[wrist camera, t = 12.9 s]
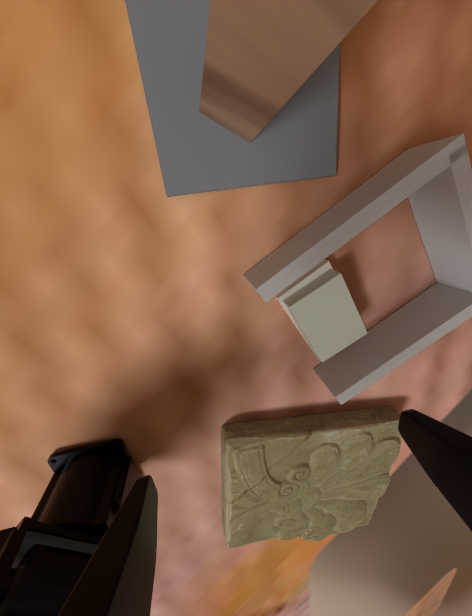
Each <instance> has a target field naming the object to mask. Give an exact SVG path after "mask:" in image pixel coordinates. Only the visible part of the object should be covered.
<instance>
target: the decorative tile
mask: <svg viewBox="0 0 472 616" xmlns="http://www.w3.org/2000/svg"><path fill="white" fill-rule="evenodd" d="M399 418H400V414H399V413H398V412H397V410H396V409H394V408H393V407H391V406H389V407H379V408H370V409H360V410H351V411H341V412H332V413H322V414H314V415H304V416H295V417H286V418H276V419H266V420H257V421H248V422H239V423H230V424H224V425H222V427H221V447H222V449H221V468H222V489H221V495H222V525H223V531H224V536H225V541H226V545H227V547H229V548H234V547H239V546H243V545H246V544H250V543H254V542H259V541H263V540H268V539H271V538H280V539H281V540H291V539H294V538H295V537H297V536H299V537H301V538H302V539H303V540H307V541H320V540H322V539H324V538H325V537H326V536H327V535H330V534H336V533H344V532H348V531H350V530H352V529H353V528H355V527H357V526H363V525H367V524H368V523H369V521H370V519H371V517H372V514H373V512H374V509H375V507H376V503H377V500H378V497H381V496H382V495H383V494H384V492H385V490H386V488H387V486H388V483H389V479H390V477H389V471H390V467H391V465H392V464H393V463H394V461H395V460H396V458H397V456H398V454H399V451H400V444H401V439H400V438H401V435H400V433H399V430H398V424H399Z"/></svg>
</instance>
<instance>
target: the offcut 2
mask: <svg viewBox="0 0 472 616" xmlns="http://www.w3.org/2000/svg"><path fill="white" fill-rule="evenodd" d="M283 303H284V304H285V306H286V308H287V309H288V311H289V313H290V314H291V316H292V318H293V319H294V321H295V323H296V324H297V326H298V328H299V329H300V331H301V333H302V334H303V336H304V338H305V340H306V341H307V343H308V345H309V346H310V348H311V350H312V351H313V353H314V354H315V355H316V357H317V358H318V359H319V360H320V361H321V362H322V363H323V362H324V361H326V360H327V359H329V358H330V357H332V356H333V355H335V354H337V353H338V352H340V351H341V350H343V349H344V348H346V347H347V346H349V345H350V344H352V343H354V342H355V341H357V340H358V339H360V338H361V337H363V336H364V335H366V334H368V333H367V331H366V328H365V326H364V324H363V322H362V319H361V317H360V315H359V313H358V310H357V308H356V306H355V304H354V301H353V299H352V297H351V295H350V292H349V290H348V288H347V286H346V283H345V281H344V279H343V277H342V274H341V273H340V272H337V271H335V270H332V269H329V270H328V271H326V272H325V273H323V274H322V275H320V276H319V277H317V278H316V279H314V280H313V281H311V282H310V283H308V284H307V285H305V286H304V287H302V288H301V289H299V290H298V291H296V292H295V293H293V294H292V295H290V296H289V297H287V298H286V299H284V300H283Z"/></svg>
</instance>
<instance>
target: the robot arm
mask: <svg viewBox="0 0 472 616" xmlns="http://www.w3.org/2000/svg"><path fill="white" fill-rule="evenodd" d="M398 430H399V433H400V435H401V436H402V438H403V439H404V441H405V442H406V444H407V445H408V447H409V448H410V450H411V451H412V453H413V454H414V456H415V457H416V458H417V460H418V462H419V463H420V465H421V466H422V467H423V469H424V471H425V472H426V473H427V475H428V476H429V477H430V479H431V480H432V481H433V483H434V484H435V486H436V487H437V488H438V489H439V491H440V492H441V493H442V494H443V496H444V497H445V498H446V499H447V501H448V502H449V503H450V504H451V506H452V507H453V508H454V509H455V511H456V512H457V513H458V514H459V516H460V517H461V518H462V520H463V521H464V522H465V523H466V525H467V526H468V527H469V528H470V530H471V531H472V437H471V436H469V435H467V434H465V433H462V432H460V431H458V430H456V429H454V428H452V427H450V426H448V425H446V424H444V423H441V422H439V421H437V420H435V419H433V418H431V417H429V416H427V415H425V414H422V413H420V412H418V411H416V410H413V409H409V410H405V411H402V412H401V414H400V418H399V424H398ZM116 444H118V445H116ZM48 464H49V465H50V467H51V468H52V470H53V472H54V474H53V476H52V478H51V480H50V482H49V484H48V486H47V488H46V490H45V492H44V494H43V496H42V498H41V500H40V502H39V504H38V506H37V507H36V509H35V511H34V513H33V515H32V517H31V518H29V517H24V518H23V519H22V520H21V522H20V523H19V524H18V526H17V527H12V528H9V529H4V530H1V531H0V616H150V609H151V600H152V592H153V583H154V574H155V564H156V548H157V508H158V494H157V489H156V487H155V484H154V482H153V479H152V477H151V476H150V475H147V476H143V477H138V471H137V469H136V466H135V464H134V461H133V459H132V457H131V456H129V454H128V451H127V449H126V447H125V444H124V442H123V440H121V439H114V440H110V441H105V442H101V443H97V444H92V445H88V446H84V447H79V448H75V449H71V450H66V451H62V452H58V453H54V454H51V455H50V457H49V459H48Z"/></svg>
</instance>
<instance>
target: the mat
mask: <svg viewBox="0 0 472 616" xmlns="http://www.w3.org/2000/svg"><path fill="white" fill-rule="evenodd" d="M125 1H126V6H127V11H128V15H129V20H130V25H131V30H132V34H133V39H134V44H135V48H136V53H137V58H138V63H139V67H140V72H141V77H142V81H143V86H144V91H145V96H146V100H147V105H148V110H149V114H150V119H151V124H152V129H153V133H154V138H155V143H156V147H157V152H158V157H159V162H160V166H161V171H162V176H163V180H164V185H165V190H166V195H167V197H170V196H178V195H186V194H194V193H202V192H210V191H217V190H225V189H233V188H241V187H249V186H257V185H265V184H273V183H281V182H289V181H297V180H305V179H313V178H321V177H328V176H335V175H336V158H337V127H338V95H339V63H340V43H339V44H338V45H337V46H336V48H335V49H334V50H333V51H332V52H331V53H330V54H329V55H328V56H327V58H326V59H325V60H324V61H323V62H322V63H321V64H320V65H319V67H318V68H317V69H316V70H315V71H314V72H313V73H312V74H311V75H310V77H309V78H308V79H307V80H306V81H305V82H304V83H303V84H302V85H301V87H300V88H299V89H298V90H297V91H296V92H295V93H294V94H293V95H292V97H291V98H290V99H289V100H288V101H287V102H286V103H285V104H284V106H283V107H282V108H281V109H280V110H279V111H278V112H277V113H276V114H275V116H274V117H273V118H272V119H271V120H270V121H269V122H268V123H267V124H266V126H265V127H264V128H263V129H262V130H261V131H260V132H259V133H258V135H257V136H256V137H255V138H254V139H253V140H252V141H251V142H250V143H249V142H248V141H246V140H244V139H243V138H241V137H239V136H238V135H236V134H234V133H233V132H231V131H229V130H228V129H226V128H224V127H223V126H221V125H219V124H218V123H216V122H214V121H213V120H211V119H210V118H208V117H206V116H205V115H203V114H201V113H200V112H199V109H200V99H201V89H202V79H203V69H204V59H205V49H206V38H207V28H208V18H209V8H210V0H125Z"/></svg>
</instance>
